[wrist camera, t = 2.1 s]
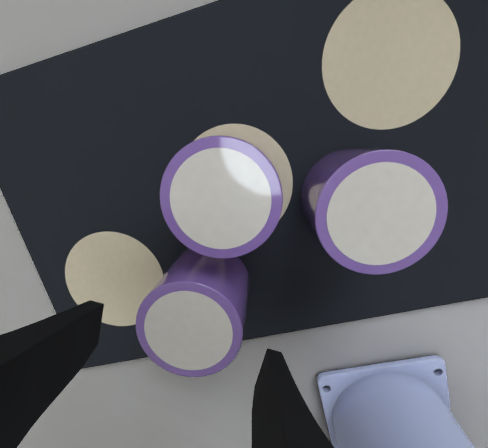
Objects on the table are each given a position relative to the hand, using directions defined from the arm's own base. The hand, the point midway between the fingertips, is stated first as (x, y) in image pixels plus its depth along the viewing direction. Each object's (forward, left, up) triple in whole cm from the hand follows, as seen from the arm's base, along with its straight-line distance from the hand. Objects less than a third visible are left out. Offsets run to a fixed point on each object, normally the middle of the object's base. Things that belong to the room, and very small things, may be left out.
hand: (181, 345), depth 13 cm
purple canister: (0, 0, -6) cm, 6 cm away
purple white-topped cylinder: (+5, -3, -6) cm, 9 cm away
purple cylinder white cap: (+3, -9, -6) cm, 12 cm away
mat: (+5, -3, -7) cm, 9 cm away
